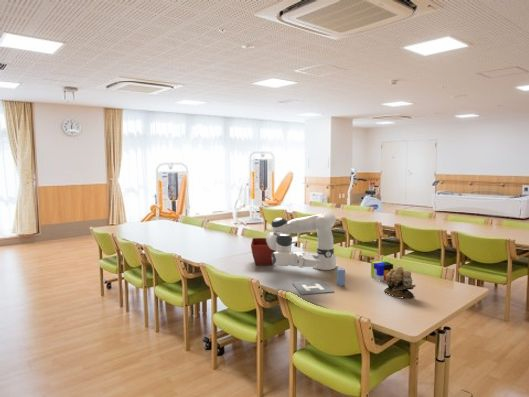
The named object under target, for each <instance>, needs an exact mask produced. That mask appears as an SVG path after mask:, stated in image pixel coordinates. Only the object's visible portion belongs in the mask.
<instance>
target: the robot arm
mask: <svg viewBox="0 0 529 397" xmlns="http://www.w3.org/2000/svg"><path fill="white" fill-rule="evenodd" d="M336 221H337V218H336V216H335V215H334V214H333V213H331V212H322V213H317V214H313V215H310V216H309V215H308V216H303V217H295V218H293V219H290V220H288V219H286V218H285V217H276V218H274V219H272V221H271V228H272V230H273V231H270V232H268V233H267V234H266V236H265V238H266V242H267V245H268V246H269V248H270V249H272V250H274V251H276V252H273V253H272V256H271V260H272V263H273V265H274V266H279V267H288V266H289V267H298V268H301V269H302V268H312V269H318V270H322V271H323V270H324V271H329V270H330V271H331V270H333V269H337V268H339V265H338V264H337V258H336V254H335V248H334V236H333V231H332V228H333V227H334V226H335V224H336ZM314 231H316V234H317V248H316V253H315V254H311V253H310V252H307V251H305V252H302V251H292V244H293V237H292V236H291V234H301V233H302V234H303V233H308V232H314Z"/></svg>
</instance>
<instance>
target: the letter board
mask: <svg viewBox="0 0 529 397" xmlns="http://www.w3.org/2000/svg"><path fill="white" fill-rule="evenodd" d="M292 285H293V287H294V288H295V289H296V290H297V291H298V293H299V294H300V295H301V296H309V295H318V294H319V295H320V294H331V293H332V294H333V293H335V290H333V288H332V287H330V286H329V285H328V284H327V283H326V282H325V281H324V280H320V281H319V280H316V281H306V282H305V281H304V282H303V281H302V282H294V283H292Z"/></svg>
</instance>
